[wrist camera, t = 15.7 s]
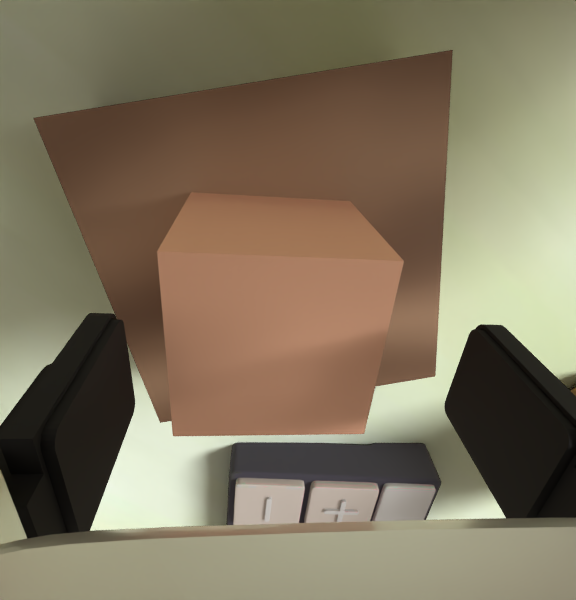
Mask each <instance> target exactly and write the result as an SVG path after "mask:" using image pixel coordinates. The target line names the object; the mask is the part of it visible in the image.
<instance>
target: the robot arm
mask: <svg viewBox="0 0 576 600" xmlns="http://www.w3.org/2000/svg"><path fill="white" fill-rule="evenodd" d="M134 408H135V397H134V390H133V383H132V376H131V369H130V362H129V355H128V348H127V341H126V334H125V327H124V322H123V320H117V318H116V316H115V315H114V314H104V313H89V314H88V315H87V316H86V318H85V319H84V320H83V322H82V323H81V325H80V326H79V327H78V329H77V330H76V331H75V333H74V334H73V336H72V337H71V338H70V340H69V341H68V342H67V344H66V345H65V347H64V348H63V349H62V351H61V352H60V353H59V355H58V356H57V357H56V359H55V360H54V362H53V363H52V364H50V365H47V366H46V367H45V368H44V369H43V370H42V371H41V372H40V373H39V375H38V376H37V377H36V379H35V380H34V381H33V383H32V384H31V385H30V387H29V388H28V389H27V391H26V392H25V393H24V395H23V396H22V397H21V399H20V400H19V401H18V403H17V404H16V405H15V407H14V408H13V410H12V411H11V412H10V414H9V415H8V416H7V418H6V419H5V420H4V422H3V423H2V424H1V426H0V600H576V396H575V395H574V394H573V393H572V392H571V391H570V390H569V389H568V388H567V387H566V386H565V385H564V384H563V383H562V382H561V381H560V380H559V379H558V378H557V377H555V376H554V375H553V374H552V373H551V372H550V371H549V370H548V369H547V368H546V367H545V366H544V365H543V364H542V363H541V362H540V361H539V360H538V359H537V358H536V357H535V356H534V355H533V354H532V353H531V352H530V351H529V350H528V349H527V348H526V347H525V346H524V345H523V344H522V343H521V342H519V341H518V340H517V339H516V338H515V337H514V336H513V335H512V334H511V333H510V332H509V331H508V330H507V329H506V328H505V327H504V326H502V325H479V326H478V327H477V328H476V329H474V330H472V331H471V332H470V334H469V337H468V339H467V342H466V345H465V348H464V351H463V353H462V356H461V359H460V362H459V365H458V367H457V370H456V373H455V376H454V378H453V381H452V384H451V387H450V390H449V392H448V395H447V398H446V401H445V412H446V414H447V416H448V418H449V420H450V422H451V423H452V425H453V427H454V429H455V430H456V432H457V434H458V435H459V437H460V439H461V441H462V442H463V444H464V446H465V448H466V449H467V451H468V453H469V454H470V456H471V458H472V460H473V461H474V463H475V465H476V467H477V468H478V470H479V472H480V473H481V475H482V477H483V479H484V480H485V482H486V484H487V486H488V487H489V489H490V491H491V492H492V494H493V496H494V498H495V499H496V501H497V503H498V505H499V506H500V508H501V510H502V511H503V513H504V515H505V517H506V518H504V519H449V520H404V521H362V522H322V523H285V524H252V525H218V526H185V527H161V528H140V529H119V530H97V531H90V528H91V526H92V523H93V520H94V518H95V515H96V512H97V510H98V507H99V504H100V502H101V499H102V496H103V494H104V491H105V488H106V485H107V483H108V480H109V477H110V475H111V472H112V469H113V467H114V464H115V461H116V459H117V456H118V453H119V451H120V448H121V445H122V442H123V440H124V437H125V434H126V432H127V429H128V426H129V424H130V421H131V418H132V416H133V413H134Z"/></svg>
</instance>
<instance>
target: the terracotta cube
mask: <svg viewBox="0 0 576 600" xmlns="http://www.w3.org/2000/svg"><path fill="white" fill-rule="evenodd" d="M157 257H158V268H159V280H160V292H161V303H162V315H163V326H164V338H165V349H166V361H167V373H168V384H169V396H170V407H171V419H172V430H173V436H225V435H309V434H364V432H365V428H366V423H367V419H368V415H369V410H370V406H371V402H372V397H373V393H374V389H375V384H376V380H377V376H378V372H379V367H380V363H381V359H382V354H383V350H384V346H385V341H386V337H387V333H388V328H389V324H390V320H391V315H392V311H393V307H394V302H395V298H396V294H397V289H398V285H399V281H400V276H401V272H402V268H403V263H404V261H403V259H402V258H401V257H400V256H399V255H398V254H397V253H396V252H395V251H394V249H393V248H392V247H391V246H390V245H389V244H388V243H387V242H386V240H385V239H384V238H383V237H382V236H381V235H380V234H379V233H378V232H377V230H376V229H375V228H374V227H373V226H372V225H371V224H370V223H369V222H368V220H367V219H366V218H365V217H364V216H363V215H362V214H361V213H360V212H359V210H358V209H357V208H356V207H355V206H354V205H353V204H352V203H351V202H350V201H339V200H321V199H303V198H285V197H267V196H249V195H231V194H214V193H196V192H191V193H190V195H189V197H188V198H187V200H186V202H185V204H184V205H183V207H182V209H181V211H180V212H179V214H178V216H177V218H176V219H175V221H174V223H173V225H172V226H171V228H170V230H169V232H168V233H167V235H166V237H165V238H164V240H163V242H162V244H161V245H160V247H159V249H158V251H157Z"/></svg>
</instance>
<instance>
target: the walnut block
mask: <svg viewBox="0 0 576 600" xmlns="http://www.w3.org/2000/svg"><path fill="white" fill-rule="evenodd" d="M452 51H453V50H450V51H444V52H438V53H431V54H425V55H419V56H413V57H407V58H401V59H394V60H388V61H382V62H376V63H370V64H364V65H357V66H351V67H345V68H339V69H333V70H326V71H320V72H314V73H308V74H302V75H296V76H289V77H283V78H277V79H271V80H265V81H259V82H252V83H246V84H240V85H234V86H228V87H222V88H215V89H209V90H203V91H197V92H191V93H185V94H178V95H172V96H166V97H160V98H154V99H148V100H141V101H135V102H129V103H123V104H117V105H111V106H104V107H98V108H92V109H86V110H80V111H74V112H67V113H61V114H55V115H49V116H43V117H37V118H34V121H35V123H36V125H37V128H38V130H39V133H40V135H41V137H42V140H43V142H44V145H45V147H46V149H47V152H48V154H49V157H50V159H51V161H52V164H53V166H54V169H55V171H56V173H57V176H58V178H59V181H60V183H61V185H62V188H63V190H64V193H65V195H66V197H67V200H68V202H69V205H70V207H71V209H72V212H73V214H74V217H75V219H76V221H77V224H78V226H79V229H80V231H81V233H82V236H83V238H84V241H85V243H86V245H87V248H88V250H89V253H90V255H91V257H92V260H93V262H94V265H95V267H96V269H97V272H98V274H99V277H100V279H101V281H102V284H103V286H104V289H105V291H106V293H107V296H108V298H109V301H110V303H111V305H112V308H113V310H114V313H115V315H116V317H117V320H123V322H124V327H125V334H126V341H127V344H128V346H129V349H130V351H131V353H132V356H133V358H134V361H135V363H136V365H137V368H138V370H139V373H140V375H141V377H142V380H143V382H144V385H145V387H146V389H147V392H148V394H149V397H150V399H151V401H152V404H153V406H154V409H155V411H156V413H157V416H158V418H159V421H160V423H161V422H167V421H172V419H171V407H170V396H169V384H168V373H167V361H166V349H165V338H164V326H163V315H162V303H161V292H160V280H159V268H158V257H157V251H158V249H159V247H160V245H161V244H162V242H163V240H164V238H165V237H166V235H167V233H168V232H169V230H170V228H171V226H172V225H173V223H174V221H175V219H176V218H177V216H178V214H179V212H180V211H181V209H182V207H183V205H184V204H185V202H186V200H187V198H188V197H189V195H190V193H191V192H196V193H214V194H231V195H249V196H267V197H285V198H303V199H321V200H339V201H350V202H351V203H352V204H353V205H354V206H355V207H356V208H357V209H358V210H359V212H360V213H361V214H362V215H363V216H364V217H365V218H366V219H367V220H368V222H369V223H370V224H371V225H372V226H373V227H374V228H375V229H376V230H377V232H378V233H379V234H380V235H381V236H382V237H383V238H384V239H385V240H386V242H387V243H388V244H389V245H390V246H391V247H392V248H393V249H394V251H395V252H396V253H397V254H398V255H399V256H400V257H401V258H402V259H403V261H404V263H403V268H402V272H401V276H400V281H399V285H398V289H397V294H396V298H395V302H394V307H393V311H392V315H391V320H390V324H389V328H388V333H387V337H386V341H385V346H384V350H383V354H382V359H381V363H380V367H379V372H378V376H377V380H376V384H375V386H380V385H386V384H392V383H398V382H404V381H410V380H416V379H422V378H428V377H434V376H435V371H436V352H437V333H438V314H439V296H440V277H441V258H442V239H443V220H444V201H445V183H446V164H447V145H448V126H449V107H450V88H451V70H452Z"/></svg>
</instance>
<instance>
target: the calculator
mask: <svg viewBox="0 0 576 600" xmlns="http://www.w3.org/2000/svg"><path fill="white" fill-rule="evenodd" d="M440 485H441V480H440V478H439V475H438V473H437V471H436V468H435V466H434V464H433V461H432V459H431V457H430V454H429V452H428V450H427V448H426V445H425V444H423V443H373V444H371V445H351V444H329V443H243V442H241V443H235V444H234V445H233V446H232V454H231V462H230V472H229V488H228V510H227V525H252V524H285V523H322V522H362V521H404V520H426V518H427V516H428V513H429V511H430V508H431V506H432V504H433V501H434V499H435V497H436V494H437V492H438V490H439V487H440Z"/></svg>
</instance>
